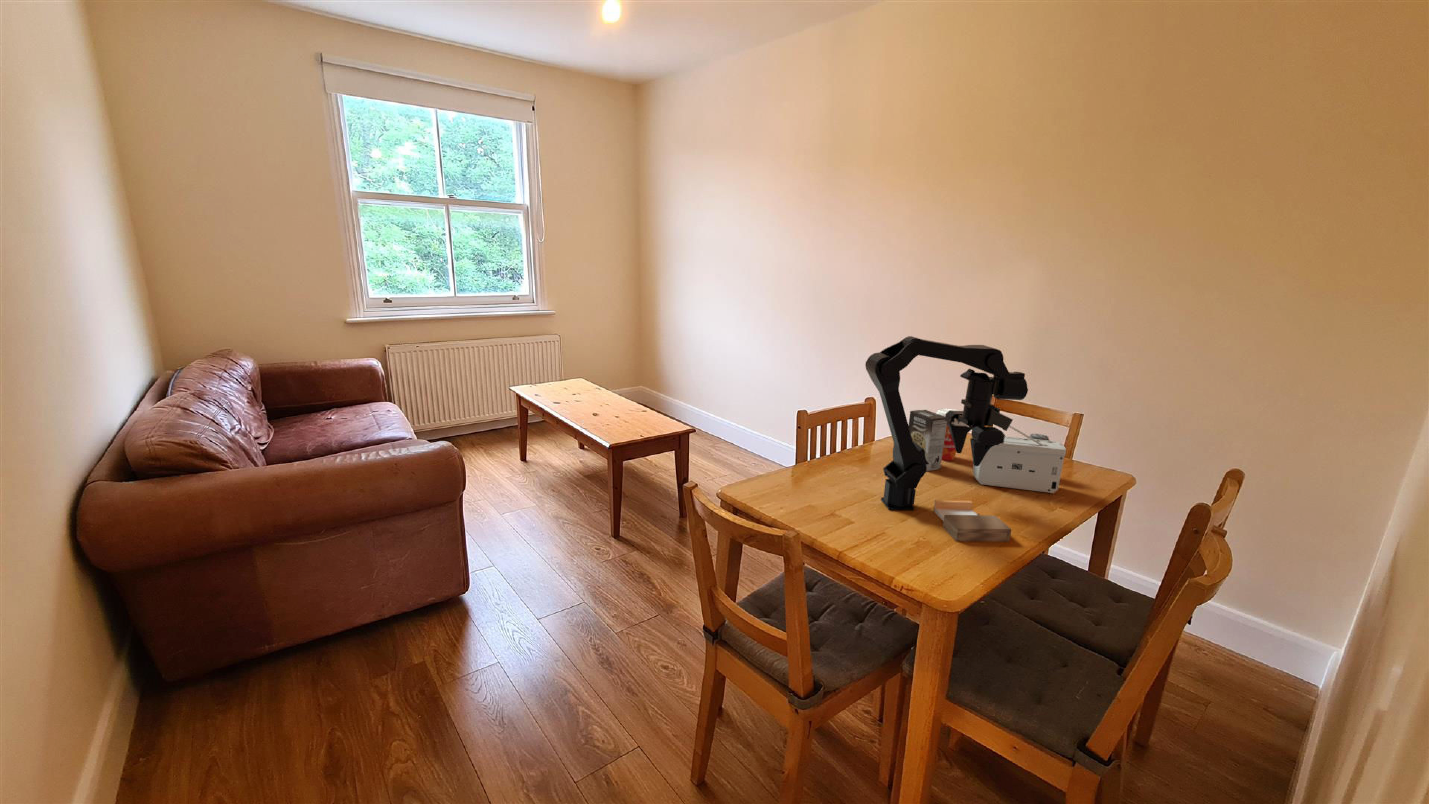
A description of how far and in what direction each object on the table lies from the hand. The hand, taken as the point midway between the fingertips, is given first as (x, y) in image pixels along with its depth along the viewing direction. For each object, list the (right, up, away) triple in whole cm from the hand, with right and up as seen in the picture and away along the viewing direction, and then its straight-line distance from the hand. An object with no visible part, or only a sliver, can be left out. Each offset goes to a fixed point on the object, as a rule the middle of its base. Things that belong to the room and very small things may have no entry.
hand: (967, 459), depth 141 cm
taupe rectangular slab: (-4, -16, -12) cm, 20 cm away
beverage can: (+30, -7, +25) cm, 40 cm away
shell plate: (-4, -14, -5) cm, 15 cm away
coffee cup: (+10, -3, +38) cm, 39 cm away
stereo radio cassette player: (+21, -9, +17) cm, 28 cm away
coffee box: (0, -5, +31) cm, 31 cm away
